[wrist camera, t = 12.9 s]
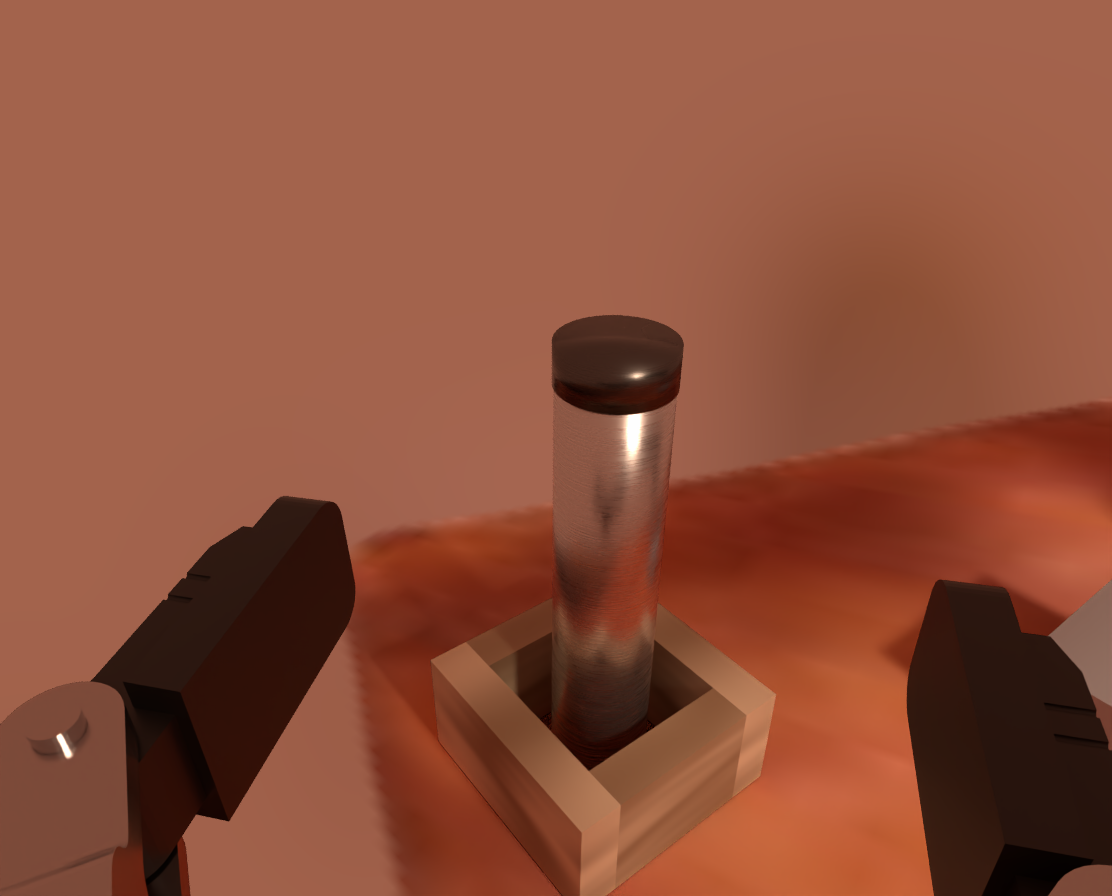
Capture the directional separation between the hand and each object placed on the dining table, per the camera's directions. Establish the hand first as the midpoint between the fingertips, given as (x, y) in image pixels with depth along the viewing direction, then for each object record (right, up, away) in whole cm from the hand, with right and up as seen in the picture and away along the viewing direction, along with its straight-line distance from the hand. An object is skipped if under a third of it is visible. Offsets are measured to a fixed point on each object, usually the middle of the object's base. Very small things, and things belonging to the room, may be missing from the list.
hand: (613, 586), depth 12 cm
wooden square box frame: (+1, -9, +18) cm, 20 cm away
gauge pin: (+1, -9, +18) cm, 20 cm away
